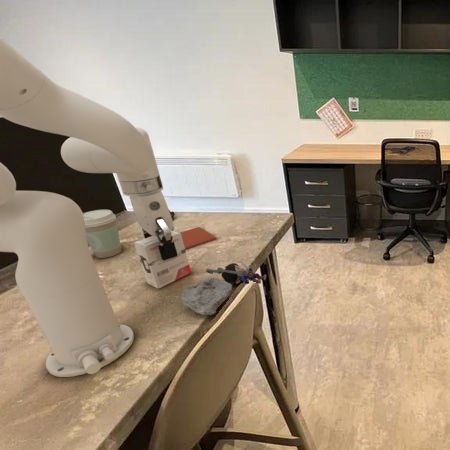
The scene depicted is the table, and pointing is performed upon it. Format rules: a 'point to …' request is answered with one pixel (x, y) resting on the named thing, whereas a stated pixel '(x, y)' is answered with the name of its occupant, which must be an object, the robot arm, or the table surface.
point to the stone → (206, 295)
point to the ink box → (162, 261)
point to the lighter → (172, 214)
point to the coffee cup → (102, 233)
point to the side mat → (195, 237)
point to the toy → (238, 274)
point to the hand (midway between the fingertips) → (162, 251)
